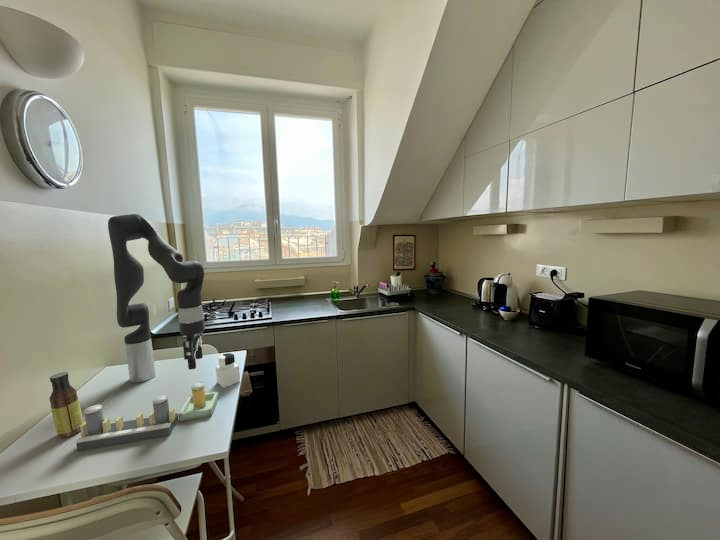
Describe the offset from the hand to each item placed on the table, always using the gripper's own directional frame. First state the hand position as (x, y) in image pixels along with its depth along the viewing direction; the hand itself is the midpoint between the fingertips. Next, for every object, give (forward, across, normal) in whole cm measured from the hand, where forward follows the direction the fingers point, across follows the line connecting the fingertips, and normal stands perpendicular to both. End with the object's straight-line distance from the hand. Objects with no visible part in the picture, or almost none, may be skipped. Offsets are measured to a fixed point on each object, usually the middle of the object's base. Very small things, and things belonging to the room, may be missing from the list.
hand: (196, 363), depth 104 cm
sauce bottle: (+17, +2, -38) cm, 41 cm away
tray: (+17, 0, 0) cm, 17 cm away
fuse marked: (+16, 0, 0) cm, 16 cm away
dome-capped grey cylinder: (+14, +9, -27) cm, 32 cm away
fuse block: (+17, +9, -18) cm, 26 cm away
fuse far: (+14, +9, -9) cm, 19 cm away
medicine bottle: (+17, -18, +6) cm, 26 cm away
